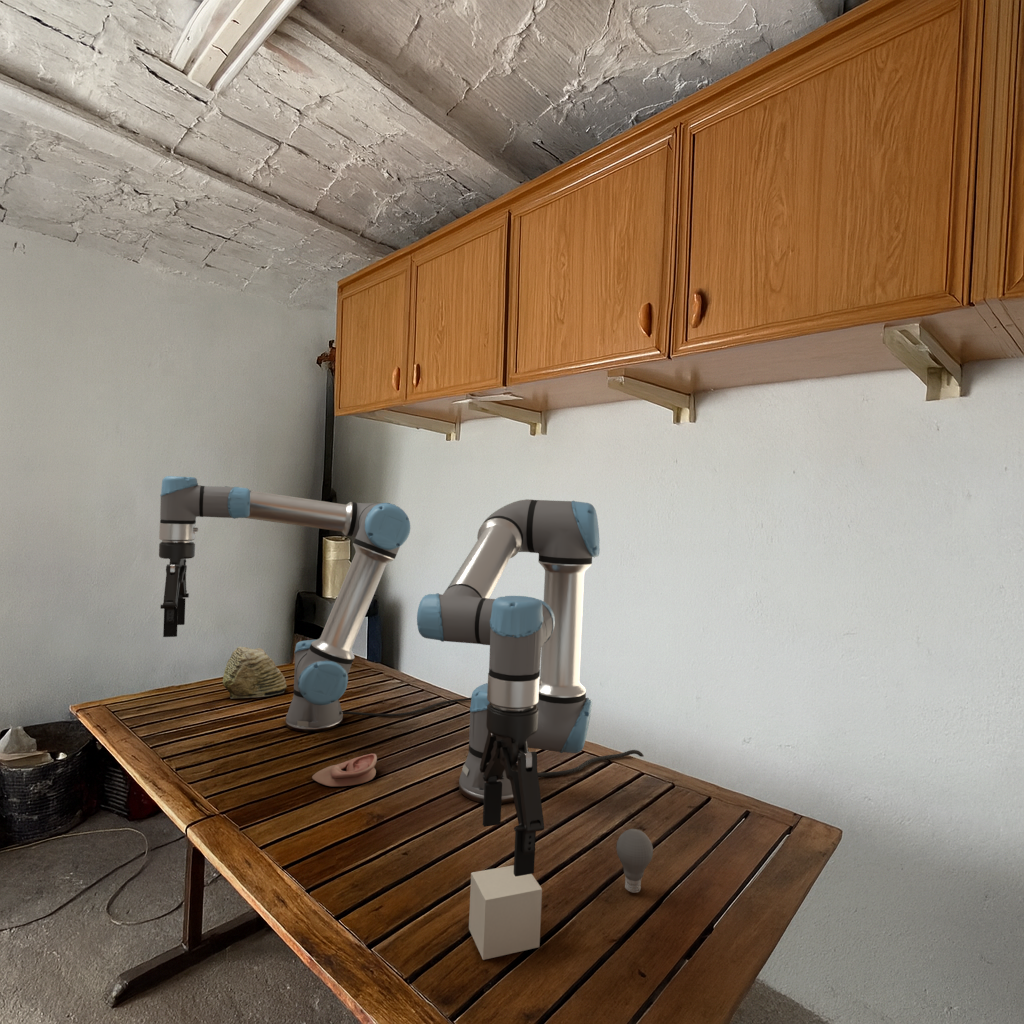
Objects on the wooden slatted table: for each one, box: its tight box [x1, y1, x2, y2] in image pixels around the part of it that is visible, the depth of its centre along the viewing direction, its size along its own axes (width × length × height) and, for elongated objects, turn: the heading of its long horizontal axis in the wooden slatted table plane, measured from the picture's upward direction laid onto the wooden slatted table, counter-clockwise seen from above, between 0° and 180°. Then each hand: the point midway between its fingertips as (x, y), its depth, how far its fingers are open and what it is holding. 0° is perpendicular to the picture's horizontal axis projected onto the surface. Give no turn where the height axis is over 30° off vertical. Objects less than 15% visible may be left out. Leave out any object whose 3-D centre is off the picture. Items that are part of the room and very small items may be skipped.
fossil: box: [222, 646, 288, 699], centre depth 198 cm, size 9×18×15 cm, turn 132°
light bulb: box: [615, 828, 654, 894], centre depth 106 cm, size 6×6×10 cm
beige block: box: [468, 864, 543, 961], centre depth 93 cm, size 9×7×8 cm
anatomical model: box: [311, 753, 378, 788], centre depth 144 cm, size 13×4×12 cm
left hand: (174, 630), depth 151 cm, fingers open, 13 cm apart
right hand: (506, 847), depth 93 cm, fingers open, 13 cm apart
